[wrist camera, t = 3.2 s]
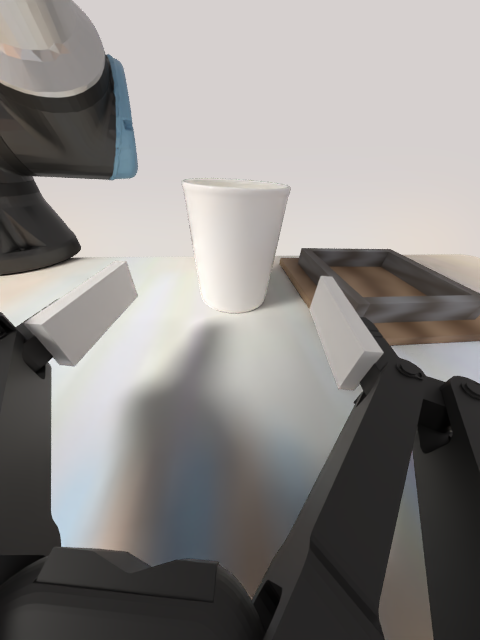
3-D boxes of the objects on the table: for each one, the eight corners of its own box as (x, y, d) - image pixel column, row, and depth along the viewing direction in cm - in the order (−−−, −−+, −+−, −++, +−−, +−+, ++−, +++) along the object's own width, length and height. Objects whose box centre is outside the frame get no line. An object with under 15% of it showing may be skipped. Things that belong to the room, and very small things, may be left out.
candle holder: (277, 285, 28) (296, 183, 20) (260, 327, 20) (280, 192, 13) (215, 272, 30) (211, 176, 22) (179, 306, 23) (156, 181, 15)
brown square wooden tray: (334, 348, 18) (349, 320, 16) (279, 263, 34) (283, 243, 32) (507, 339, 21) (541, 313, 19) (382, 263, 36) (392, 244, 34)
